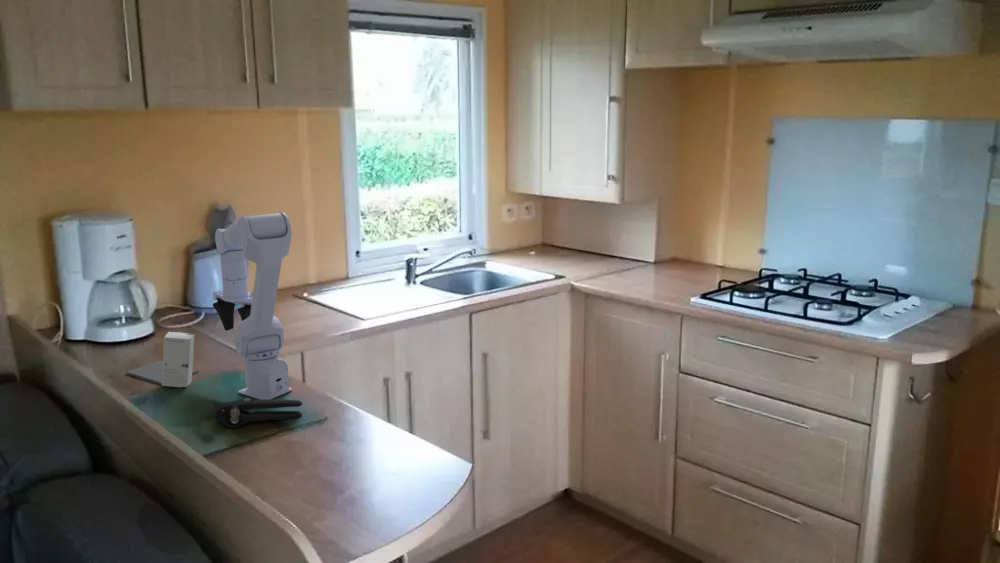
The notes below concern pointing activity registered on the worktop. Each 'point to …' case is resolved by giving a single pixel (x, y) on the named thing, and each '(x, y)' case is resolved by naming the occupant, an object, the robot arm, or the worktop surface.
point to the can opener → (237, 414)
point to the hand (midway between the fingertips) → (239, 331)
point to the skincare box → (177, 359)
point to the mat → (151, 372)
